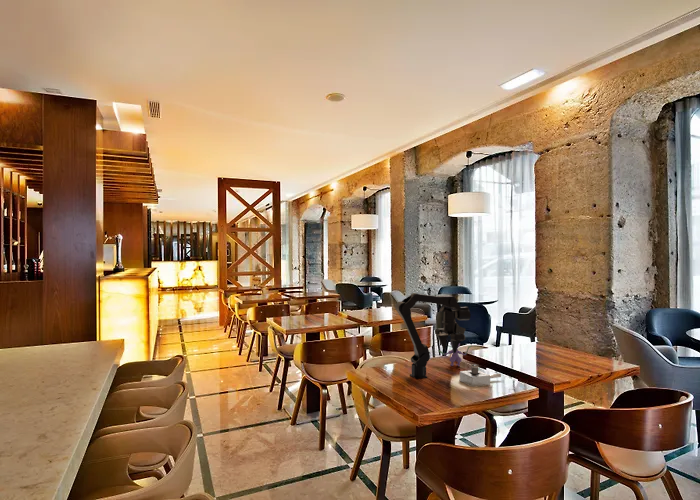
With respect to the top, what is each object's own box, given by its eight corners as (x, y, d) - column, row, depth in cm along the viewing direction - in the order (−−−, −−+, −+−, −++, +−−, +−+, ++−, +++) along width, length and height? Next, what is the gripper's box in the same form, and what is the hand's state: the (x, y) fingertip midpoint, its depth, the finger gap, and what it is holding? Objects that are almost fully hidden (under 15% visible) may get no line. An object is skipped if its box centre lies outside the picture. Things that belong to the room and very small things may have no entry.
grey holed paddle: (472, 386, 185) (472, 377, 185) (459, 380, 194) (459, 371, 195) (507, 382, 192) (507, 373, 192) (493, 377, 201) (493, 368, 201)
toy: (470, 365, 224) (471, 338, 224) (472, 367, 218) (473, 340, 218) (437, 363, 225) (437, 337, 226) (438, 366, 220) (438, 339, 220)
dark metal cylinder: (473, 383, 189) (474, 366, 189) (469, 381, 192) (469, 364, 193) (479, 382, 190) (479, 365, 191) (475, 380, 194) (475, 363, 194)
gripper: (474, 322, 198) (474, 354, 197) (452, 317, 215) (452, 346, 215) (455, 323, 194) (454, 355, 193) (434, 317, 211) (434, 347, 211)
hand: (449, 350), depth 203 cm, fingers open, 9 cm apart
